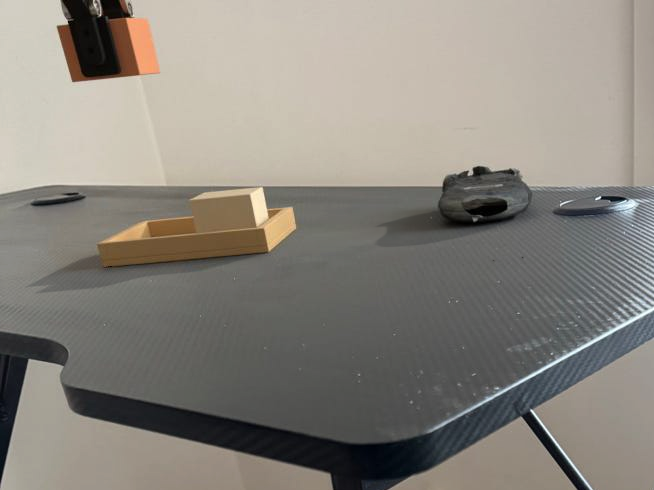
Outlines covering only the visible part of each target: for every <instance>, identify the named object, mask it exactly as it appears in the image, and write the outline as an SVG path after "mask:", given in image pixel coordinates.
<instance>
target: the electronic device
mask: <svg viewBox="0 0 654 490" xmlns="http://www.w3.org/2000/svg"><path fill="white" fill-rule="evenodd" d="M471 170H472V174H471V175H468V174H469V173H470V170H469V169H468V170H463V171H461V172H459V173H458V174H457V173H451V174H450V173H449V174H447V175H445V177H444V179H443V181H442V185H441V191H442V194H441V196H440V197H439V200H438V201H437V207H438V209H439V211H440V214H441V216H442V217H443V218H445V219H447V220H450V221H453V222H455V223H468V224H474V223H484V222H493V221H497V220H498V221H504V220H505V219H507V218H510V217H514V216H517V215H520V214H523V213H524V212H526V211H527V210H528V208H529V206H530V205H531V203H532V199H533V192H532V190H531V188H530V187H529V185H528V184H527V183H526V182H524V181H523V180H522V179H523V175H522V174H521V171H520V170H519V169H517V168H513V167H509V168H508V169H502V170H494V171H492V170H491V169H490V167H488V166H482V165H476V166H472V168H471ZM473 196H475V197H477V196H478V197H479V196H480V197H483V198H474V199H472V200H469V201H464V200H466V199H467V198H470V197H473Z"/></svg>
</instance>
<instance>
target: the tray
mask: <svg viewBox="0 0 654 490" xmlns="http://www.w3.org/2000/svg"><path fill="white" fill-rule="evenodd" d="M267 212H268V217H269V220H268V221H266V222H265V223H264V224H262V225H261V226H259V227H258V228H246V229H235V230H225V231H214V232H204V233H197V232H196V228H195V223H194V219H193V215H192V216H183V217H175V218H174V217H172V218H162V219H153V220H144V221H141V222H139V223H136V224H134V225H132V226H130V227H128V228H126V229H125V230H122V231H119V232H118V233H116V234H114V235H112V236H110V237H108V238H106V239H104V240H102V241H100V242H98V243H96V247H97V250H98V252H99V256H100V260H101V263H102V267H103V268H111V267H110V266H112V267H123V266H133V265H144V264H155V263H166V262H176V261H186V260H187V261H188V260H198V259H208V258H209V259H210V258H219V257H220V258H221V257H230V256H231V257H233V256H240V255H241V256H242V255H252V254H262V253H263V254H264V253H270V252H271V251H272V250H273V249H274V248H276V246H278V245H279V244H280V243H281V242H282V241H284V240H285V239H286V238H287V237H288V236H289V235H291V234H292V233H293V232H294V231H295V230H296V229H297V224H296V219H295V214H294V209H293V206H288V207H277V208H267ZM108 266H109V267H108Z"/></svg>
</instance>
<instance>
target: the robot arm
mask: <svg viewBox="0 0 654 490" xmlns="http://www.w3.org/2000/svg"><path fill="white" fill-rule="evenodd" d="M60 5H61V11H62V14H63V17H64V18H65V19H66V20H67V24H68V25H69V28H70V32H71V36H72V39H73V43H74V47H75V50H76V54H77V57H78V61H79V65H80V68H81V72H82V74H83V76H84V77H87V78H88V77H98V76H107V75H116V74H119V73H120V72H121V67H120V63H119V59H118V55H117V52H116V48H115V44H114V40H113V36H112V32H111V28H110V24H109V20H111V19H120V18H135V11H134V7H133V4H132V1H131V0H60Z"/></svg>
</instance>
